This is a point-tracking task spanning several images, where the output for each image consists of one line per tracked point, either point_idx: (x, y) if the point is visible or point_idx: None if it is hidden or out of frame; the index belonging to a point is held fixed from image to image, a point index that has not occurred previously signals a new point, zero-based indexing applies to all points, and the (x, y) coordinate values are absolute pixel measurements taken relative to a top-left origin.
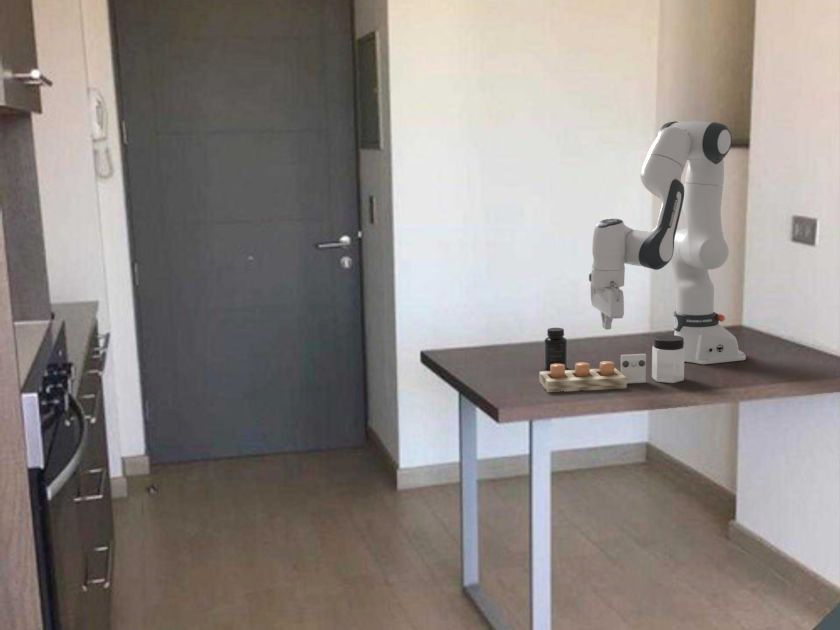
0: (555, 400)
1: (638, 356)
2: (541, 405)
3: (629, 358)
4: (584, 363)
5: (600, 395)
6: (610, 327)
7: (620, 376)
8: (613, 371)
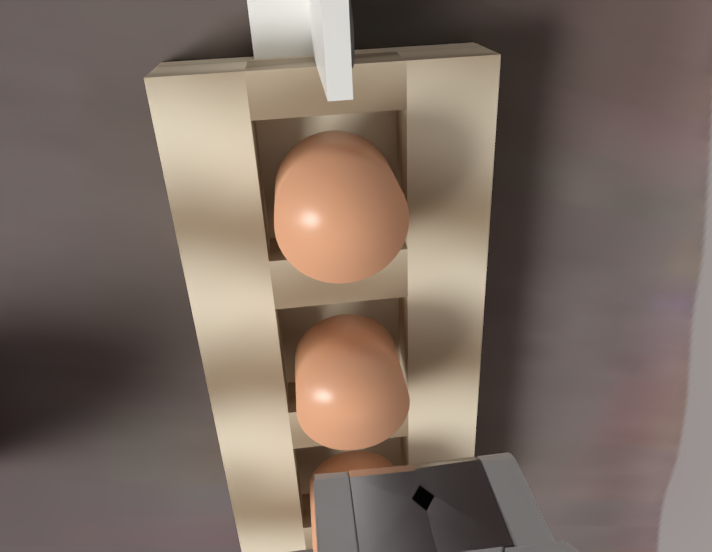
0: (597, 459)
1: None
2: (649, 509)
3: None
4: (335, 392)
5: (586, 250)
6: (519, 478)
7: (452, 100)
8: (376, 150)
